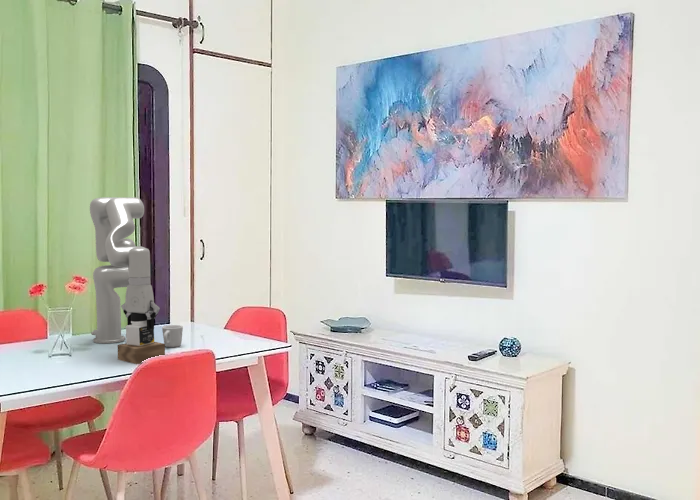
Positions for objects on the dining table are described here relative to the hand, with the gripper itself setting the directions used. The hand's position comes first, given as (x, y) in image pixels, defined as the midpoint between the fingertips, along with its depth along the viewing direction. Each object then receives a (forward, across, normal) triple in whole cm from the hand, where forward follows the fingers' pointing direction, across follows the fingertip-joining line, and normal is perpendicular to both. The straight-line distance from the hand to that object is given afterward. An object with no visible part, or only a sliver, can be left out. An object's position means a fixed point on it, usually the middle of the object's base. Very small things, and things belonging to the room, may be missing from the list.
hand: (140, 328), depth 256 cm
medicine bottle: (+6, 0, 0) cm, 6 cm away
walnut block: (+12, 0, 0) cm, 12 cm away
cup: (+11, -4, +22) cm, 25 cm away
